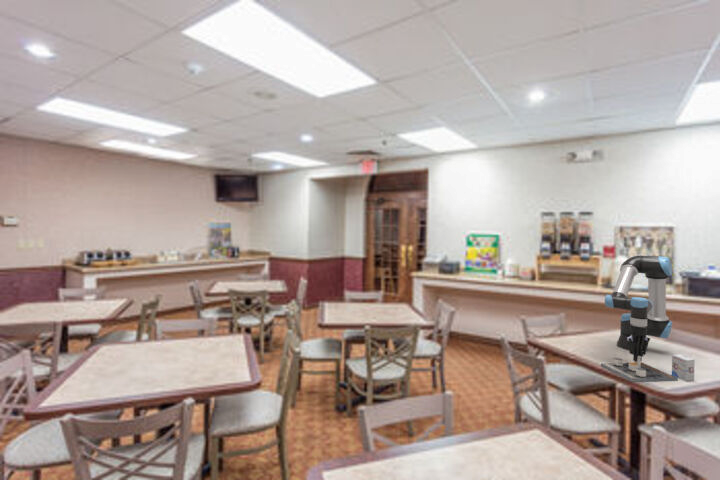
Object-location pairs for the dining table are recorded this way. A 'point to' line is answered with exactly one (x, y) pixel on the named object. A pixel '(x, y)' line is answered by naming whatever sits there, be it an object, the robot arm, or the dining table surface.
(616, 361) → the breaker
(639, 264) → the robot arm
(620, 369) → the panel
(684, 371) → the ink box
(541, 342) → the dining table surface
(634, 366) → the breaker mid
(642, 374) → the breaker
